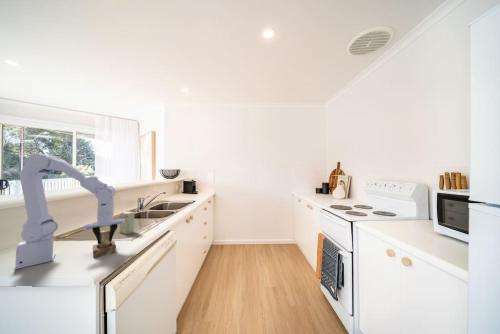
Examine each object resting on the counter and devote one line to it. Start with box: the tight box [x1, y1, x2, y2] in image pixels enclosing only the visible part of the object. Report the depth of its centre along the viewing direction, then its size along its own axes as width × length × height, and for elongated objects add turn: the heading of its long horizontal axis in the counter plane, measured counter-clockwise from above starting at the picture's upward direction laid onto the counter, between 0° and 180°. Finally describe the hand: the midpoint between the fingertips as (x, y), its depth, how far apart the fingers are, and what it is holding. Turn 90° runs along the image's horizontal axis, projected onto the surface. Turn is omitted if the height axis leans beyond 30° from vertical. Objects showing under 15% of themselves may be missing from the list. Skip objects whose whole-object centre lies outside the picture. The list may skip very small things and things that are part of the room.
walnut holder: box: [92, 240, 117, 258], centre depth 79 cm, size 8×8×3 cm
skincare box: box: [119, 210, 135, 235], centre depth 105 cm, size 6×4×12 cm
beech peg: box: [99, 229, 110, 248], centre depth 79 cm, size 4×4×8 cm
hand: (104, 242), depth 79 cm, fingers closed on beech peg, 3 cm apart
